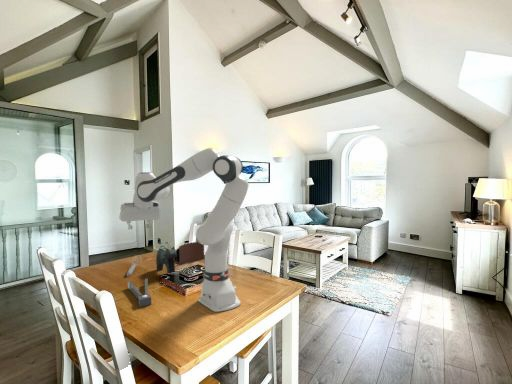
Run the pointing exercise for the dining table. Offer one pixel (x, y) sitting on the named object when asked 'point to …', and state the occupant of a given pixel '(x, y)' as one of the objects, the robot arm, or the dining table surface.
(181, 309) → the dining table surface
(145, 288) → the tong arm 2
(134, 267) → the kitchen whisk
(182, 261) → the letter holder
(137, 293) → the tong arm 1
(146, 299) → the tong hinge block
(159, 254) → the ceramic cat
